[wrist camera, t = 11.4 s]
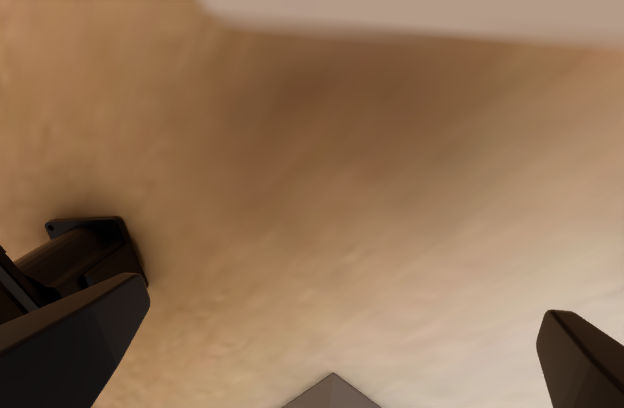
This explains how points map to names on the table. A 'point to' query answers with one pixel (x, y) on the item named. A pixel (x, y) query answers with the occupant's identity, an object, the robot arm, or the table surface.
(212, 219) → the table surface
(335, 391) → the grey flat square block
